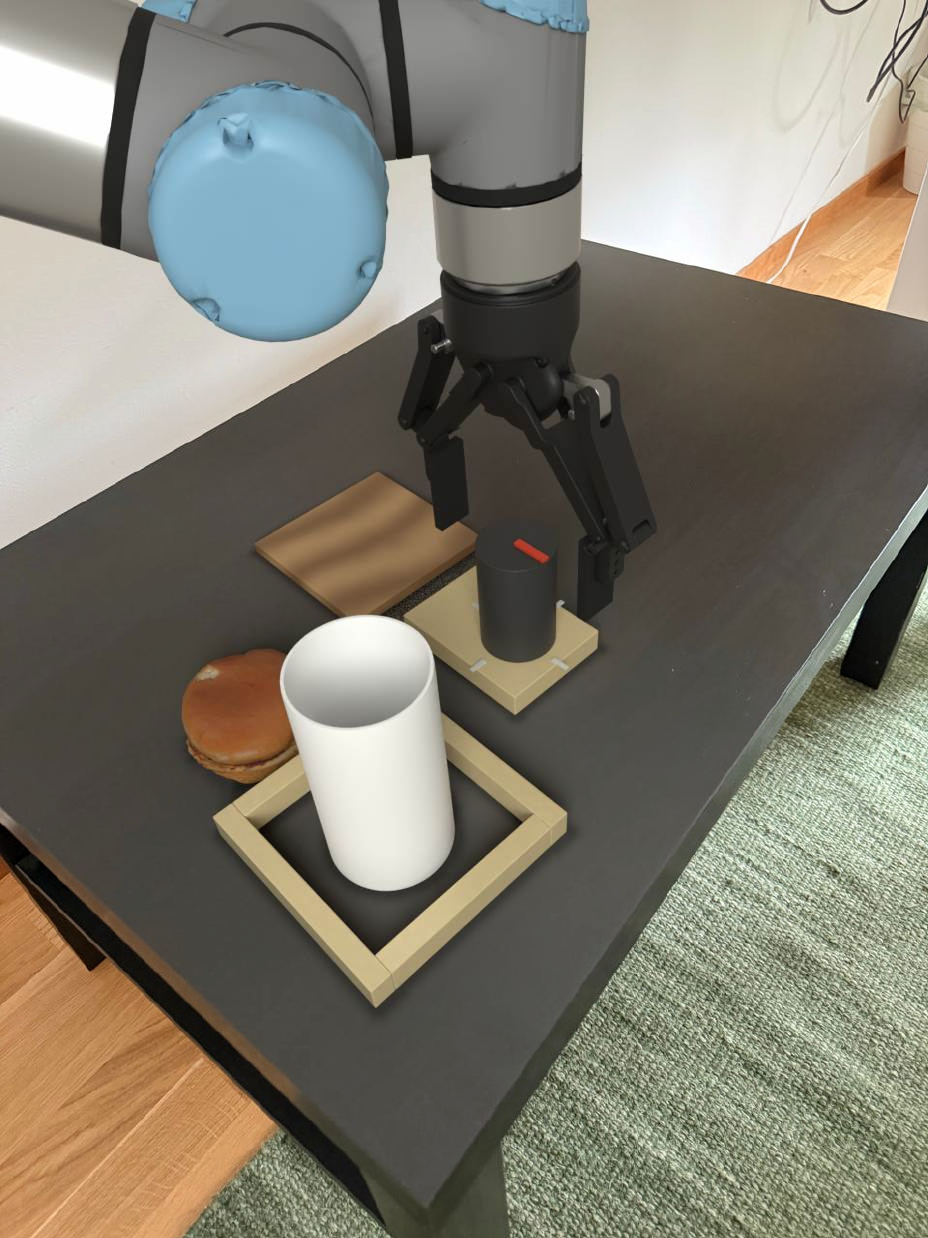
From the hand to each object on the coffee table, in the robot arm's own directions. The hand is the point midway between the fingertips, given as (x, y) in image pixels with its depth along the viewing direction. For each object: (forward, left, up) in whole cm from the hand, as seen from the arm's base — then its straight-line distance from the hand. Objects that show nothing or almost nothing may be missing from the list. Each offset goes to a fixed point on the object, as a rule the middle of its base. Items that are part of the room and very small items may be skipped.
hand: (519, 562), depth 64 cm
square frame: (+5, -17, -9) cm, 20 cm away
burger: (-9, -19, -9) cm, 23 cm away
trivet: (-18, 0, -9) cm, 20 cm away
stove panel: (-2, 0, -9) cm, 9 cm away
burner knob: (0, 0, -7) cm, 7 cm away
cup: (+5, -17, -9) cm, 20 cm away
